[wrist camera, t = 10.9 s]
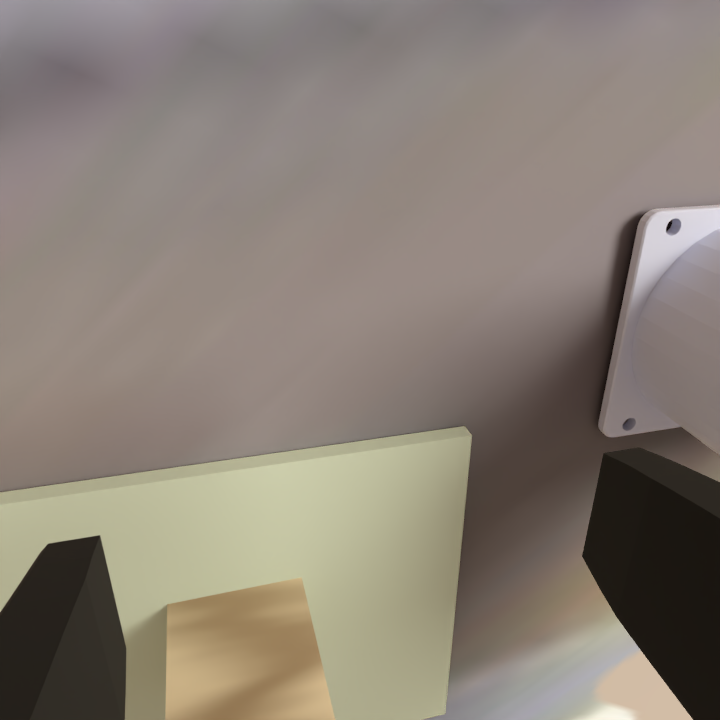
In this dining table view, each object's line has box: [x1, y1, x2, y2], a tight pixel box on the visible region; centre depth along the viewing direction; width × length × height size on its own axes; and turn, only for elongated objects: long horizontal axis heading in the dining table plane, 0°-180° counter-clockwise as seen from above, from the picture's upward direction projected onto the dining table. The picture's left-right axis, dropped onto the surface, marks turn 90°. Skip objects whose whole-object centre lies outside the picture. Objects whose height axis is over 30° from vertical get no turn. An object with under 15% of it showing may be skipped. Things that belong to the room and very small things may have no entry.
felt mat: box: [0, 426, 472, 720], centre depth 22 cm, size 16×14×1 cm
